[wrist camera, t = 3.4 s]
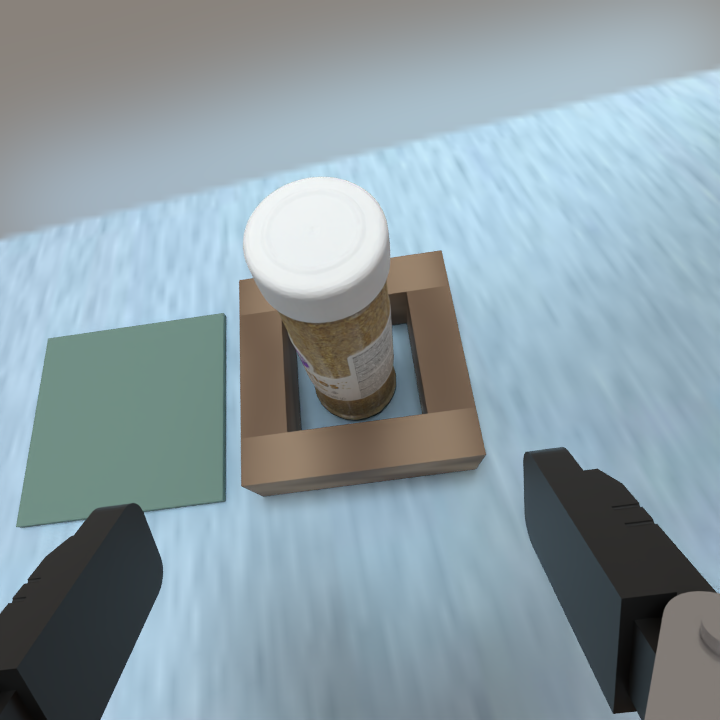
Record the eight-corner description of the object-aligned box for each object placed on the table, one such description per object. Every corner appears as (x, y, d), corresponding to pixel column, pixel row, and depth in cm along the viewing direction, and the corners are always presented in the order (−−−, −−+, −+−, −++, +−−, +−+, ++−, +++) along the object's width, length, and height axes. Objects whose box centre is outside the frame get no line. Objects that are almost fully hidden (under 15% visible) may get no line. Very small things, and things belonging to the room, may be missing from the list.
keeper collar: (437, 285, 29) (441, 250, 25) (475, 469, 24) (486, 454, 21) (257, 311, 29) (239, 280, 26) (263, 496, 25) (241, 486, 22)
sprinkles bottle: (300, 384, 27) (208, 232, 15) (357, 331, 28) (317, 148, 16) (356, 440, 25) (306, 323, 13) (415, 382, 26) (421, 222, 14)
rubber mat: (226, 316, 29) (223, 313, 29) (225, 501, 25) (222, 500, 24) (52, 341, 30) (48, 338, 29) (21, 527, 25) (16, 526, 25)
